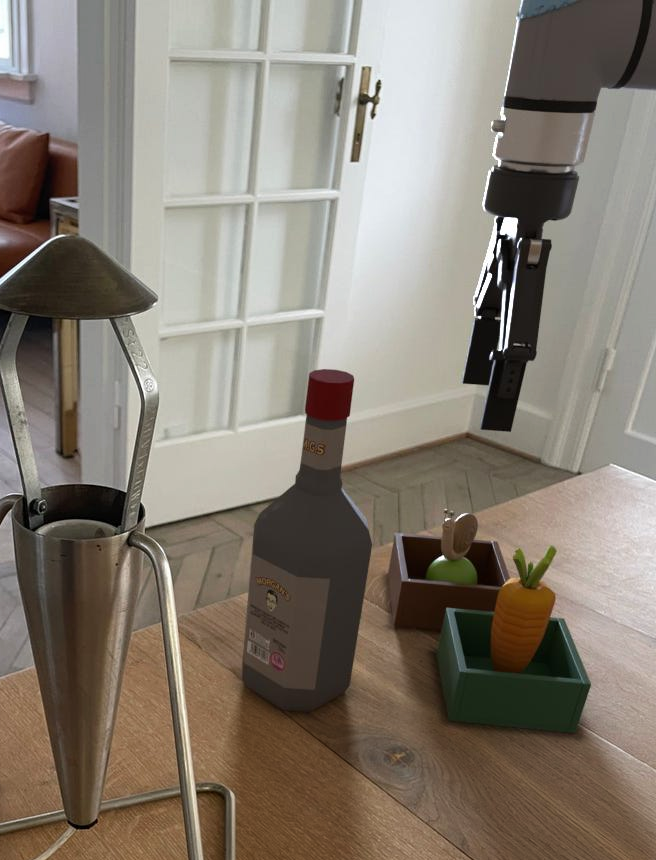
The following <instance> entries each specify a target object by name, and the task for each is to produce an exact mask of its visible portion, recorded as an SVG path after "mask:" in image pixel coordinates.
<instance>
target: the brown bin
mask: <svg viewBox="0 0 656 860" xmlns="http://www.w3.org/2000/svg"><path fill="white" fill-rule="evenodd" d="M441 538H442V536H437V535H425V534H414V533H413V534H412V533H401V532H395V533H394V536H393V542H392V548H391V554H390V558H389V559H390V560H389V565H388V570H387V580H388V589H389V597H390V606H391V613H392V622H393V626H394V627H397V628H398V627H400V628H410V629H420V630H430V631H431V630H432V631H441V630H442V625H443V621H444V616H445V611H446V608H453V609H454V608H455V609H466V610H477V611H488V612H495V607H496V602H497V597H498V593H499V591H500V589H501V587H502V586H503V585H504V584H505V583H506V582H507V581H508V580H509V579H511V577H510V574H509V571H508V568H507V565H506V563H505V559H504V556H503V554H502V550H501V547H500V544H499V542H498V541H495V540H484V539H474V540H473V542H472V544H471V546H470V548H469V550H468V552H467V553H466V554H465V555H464V556H463V557H464V558H466V559H467V560H469V561H470V562H471V563H472V565H473V566H474V568H475V570H476V573H477V585H472V584H461V583H450V582H438V581H427V580H426V573H427V570H428V568H429V566H430V565H431V564H432V563H433V562H434V561H435V560H436V559H437V558H439V557H441V556H443V555H442V549H441Z"/></svg>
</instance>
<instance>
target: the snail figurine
mask: <svg viewBox="0 0 656 860" xmlns="http://www.w3.org/2000/svg"><path fill="white" fill-rule="evenodd" d="M443 514H444V520H443V522H442V525H441V527H442V532H441V537H442V538H441V549H442V555H443V556H441V557H439V558H437V559H436V560H435V561H434V562H433V563H432V564H431V565H430V566H429V568H428V570H427V573H426V580H427V581H438V582H450V583H461V584H472V585H477V573H476V570H475V568H474V566H473V565H472V563H471V562H470V561H469V560H467V559H466V558H464V557H463V556H464V555H465V554H466V553H467V552H468V550H469V548H470V546H471V544H472V542H473V540H475V538H476V536H477V533H478V530H479V529H478V528H479V522H478V519H477V517H476V515H474V514H473V513H470V512H467V513H462V514H461V515H460V516H458V517H457V518H456V519H455V520H454V519H453V517H455V515H456V513H455V511H454V510H451V511H450V510H449V509H448V508H445V509H444V510H443ZM447 515H449V516H450V518H447Z"/></svg>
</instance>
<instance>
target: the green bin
mask: <svg viewBox="0 0 656 860" xmlns="http://www.w3.org/2000/svg"><path fill="white" fill-rule="evenodd" d="M493 617H494V612H488V611H477V610H466V609H455V608H454V609H453V608H446V611H445V616H444V621H443V625H442V630H440V635H439V639H438V644H437V649H436V653H435V654H436V659H437V664H438V669H439V675H440V680H441V685H442V691H443V696H444V701H445V707H446V713H447V718H448V721H449V722H459V723H468V724H477V725H486V726H487V725H488V726H499V727H507V728H517V729H527V730H535V731H536V730H537V731H547V732H555V733H556V732H557V733H566V734H567V733H568V734H576V733H577V730H578V727H579V724H580V720H581V717H582V714H583V712H584V708H585V706H586V703H587V699H588V696H589V693H590V690H591V687H592V683H591V681H590V677H589V675H588V673H587V671H586V669H585V666H584V663H583V661H582V659H581V656H580V653H579V651H578V649H577V646H576V644H575V642H574V641H575V640H574V639H573V637H572V634H571V631H570V629H569V626H568V623H567V622H566V620H565V618H563V617H553V616H550V619H549V622H548V625H547V628H546V631H545V633H544V636H543V638H542V640H541V642H540V644H539V646H538V648H537V650H536V652H535V654H534V656H533V658H532V659H531V661H530V663H529V664H528V665H527V667H526V668H525V669H524V671H523V672H522V673H521V674H517V673H507V672H496V671H494V670H493V665H492V660H491V629H492V623H493Z"/></svg>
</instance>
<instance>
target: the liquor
mask: <svg viewBox="0 0 656 860" xmlns="http://www.w3.org/2000/svg"><path fill="white" fill-rule="evenodd" d="M354 385H355V377H354V375H353V374H351V373H349V372H347V371H343V370H339V369H333V368H332V369H331V368H330V369H329V368H323V369H322V368H321V369H315V370H312V371H311V372H309V373H308V381H307V389H306V397H305V404H304V405H305V407H304V413H305V415H306V417H305V423H304V431H303V438H302V439H303V440H302V448H301V455H300V456H301V457H300V463H299V470H298V471H297V473H296V475H295V479H294V484H293V485H291V486H290V487H289V488H288V489H286V491H284V492H282V494H281V495H279V497H277V498H276V499H274V501H272V502H271V503H269V505H267V506H266V507H265V508H264V509H262V510H261V511H260V512H259V514H258V516H257V518H256V520H255V522H254V523H253V535H252V547H251V555H250V556H251V557H250V568H249V569H250V570H249V581H248V592H247V593H248V594H247V604H246V617H245V628H244V639H243V650H242V663H241V667H242V668H241V680H242V682H243V684H244V685H245V687H246V688H247V689H249V690H251V691H252V692H254V693H255V694H257V695H259V696H260V697H261V698H263V699H264V700H266V701H267V702H269V703H271V704H272V705H274V706H275V707H277V708H279V709H280V710H282V711H285V712H304V713H310V712H312V711H314V710H316V709H317V708H320V707H321V706H323V705H325V704H327V703H329V702H330V701H332V700H333V699H336V698H337V697H339V696H341V695H342V694H344V693H345V692H346V691H347V689H348V688H350V686H351V679H352V673H353V668H354V667H353V666H354V661H355V655H356V648H357V641H358V636H359V629H360V625H361V624H360V623H361V618H362V612H363V611H362V610H363V605H364V600H365V599H364V598H365V593H366V586H367V581H368V574H369V567H370V561H371V555H372V549H373V542H372V537H371V533H370V529H369V525H368V521H367V518H366V517H365V516H364V514H363V512H362V511H361V510H360V509H359V508H358V506H357V505H356V504H355V502H354V501H353V500H352V499H351V498H350V496H349V495H348V494H347V492H346V491H345V490H344V488H343V483H344V482H343V479H342V464H343V458H344V457H343V456H344V449H345V448H344V447H345V441H346V432H347V424H348V423H347V422H348V418H349V417H350V416H351V409H352V401H353V392H354Z"/></svg>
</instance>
